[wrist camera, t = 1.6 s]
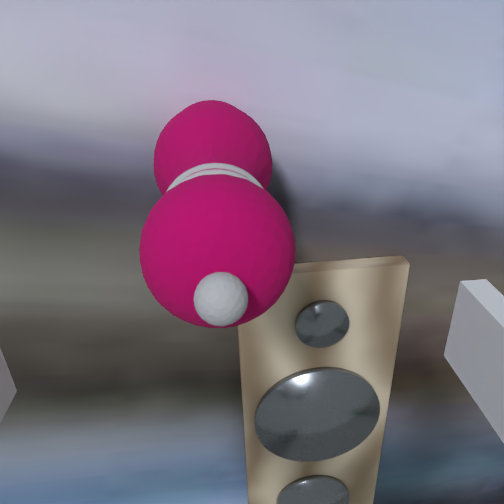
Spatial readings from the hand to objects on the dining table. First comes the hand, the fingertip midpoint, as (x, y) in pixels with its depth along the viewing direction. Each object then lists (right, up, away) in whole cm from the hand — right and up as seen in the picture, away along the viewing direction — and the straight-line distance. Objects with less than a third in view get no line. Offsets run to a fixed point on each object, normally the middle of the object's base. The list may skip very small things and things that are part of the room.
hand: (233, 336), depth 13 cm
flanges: (+7, -10, +28) cm, 31 cm away
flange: (+7, -25, +36) cm, 44 cm away
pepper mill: (-2, +10, +19) cm, 21 cm away
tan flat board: (+7, -14, +32) cm, 36 cm away
